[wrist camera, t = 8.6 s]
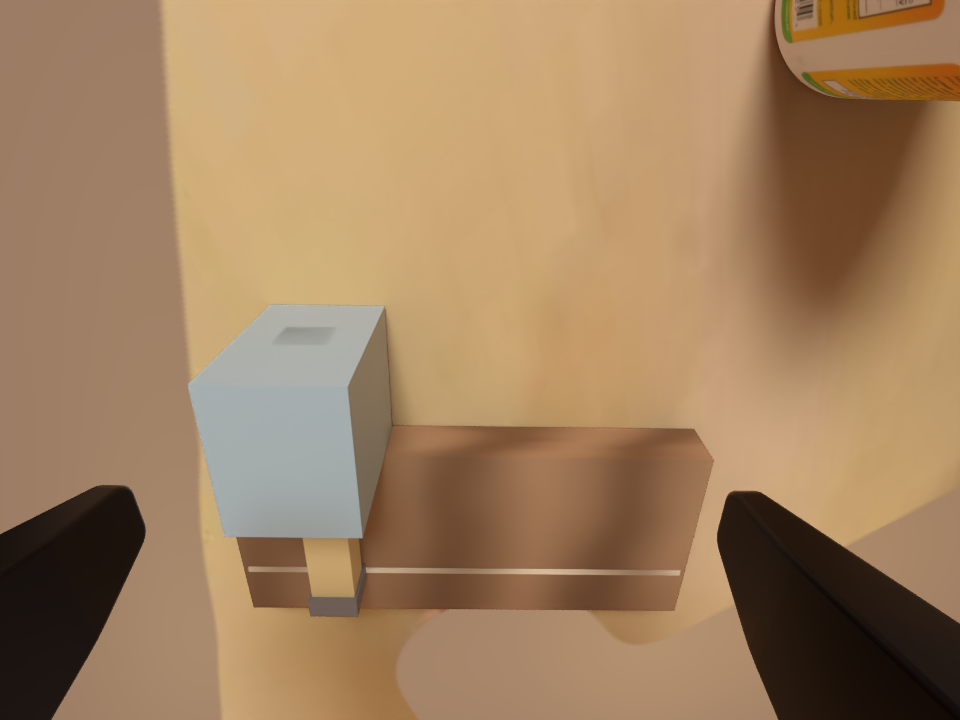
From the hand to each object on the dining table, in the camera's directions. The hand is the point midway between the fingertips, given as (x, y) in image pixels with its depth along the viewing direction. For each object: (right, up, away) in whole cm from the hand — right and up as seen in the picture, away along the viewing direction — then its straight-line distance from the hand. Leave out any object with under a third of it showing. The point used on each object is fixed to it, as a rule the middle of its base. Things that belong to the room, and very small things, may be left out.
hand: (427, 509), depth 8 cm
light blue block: (-5, -1, +13) cm, 14 cm away
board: (0, -4, +15) cm, 15 cm away
